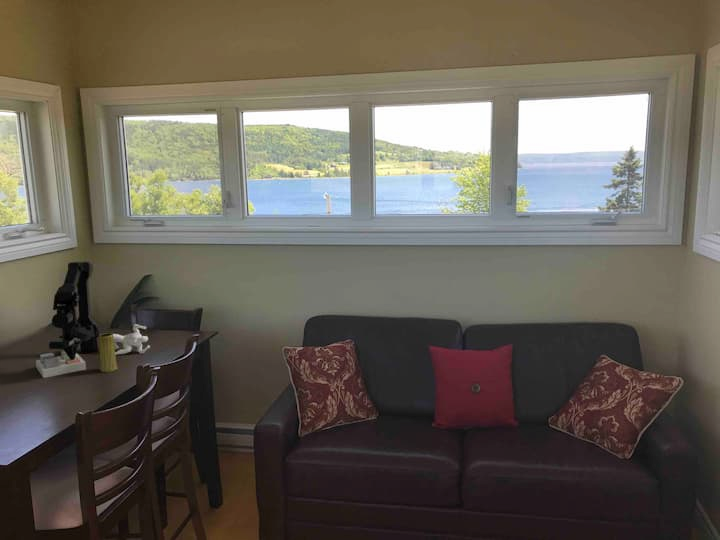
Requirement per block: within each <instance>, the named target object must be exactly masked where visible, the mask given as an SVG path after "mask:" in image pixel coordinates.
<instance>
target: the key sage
mask: <svg viewBox="0 0 720 540" xmlns="http://www.w3.org/2000/svg"><path fill="white" fill-rule="evenodd" d="M60 353H61V356H62V359H63V360H65V359H70V358H69V357H68V355H67V354H66V352H65V351H64V350H62V351H60ZM75 358H76V355H75Z"/></svg>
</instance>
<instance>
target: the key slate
mask: <svg viewBox="0 0 720 540" xmlns="http://www.w3.org/2000/svg"><path fill="white" fill-rule="evenodd" d="M39 355H40V360H41V362H42V364H44V359H49V358H54V357H56V356H55V353H53V352H49V353H43V354H39Z"/></svg>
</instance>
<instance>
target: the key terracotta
mask: <svg viewBox="0 0 720 540" xmlns="http://www.w3.org/2000/svg"><path fill="white" fill-rule="evenodd" d="M65 361H66V364H67V365H68V364H73V363H79V362H80V359H79V358H78V357H76V358H75V359H74V360H71V359H65Z"/></svg>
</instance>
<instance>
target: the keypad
mask: <svg viewBox="0 0 720 540" xmlns="http://www.w3.org/2000/svg"><path fill="white" fill-rule="evenodd" d="M56 357H57V359H58V360H59V366H58V367H53V368H47V369H46V368H45V366H44V364H42V362H41V359H38V360H35V363H36V364H35V365H36V369H37V371H38V372H39V373H40V374H39V375H41V376H42V378H43V379H44V378H50V377H55V376H60V375H65V374H69V373H70V374H71V373H74V372H79V371H85V370H87V368H86V366H87V365H86V364H87V363H86V361H85V360H84V359H83V358H82V357H81V356H80V355H79V354H78V353H77V352H76V357H78V358H79V359H80V362H79V363H73V364H68V365H67V364H66V361H65V360H63V359H62V355H61V356H56Z"/></svg>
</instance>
